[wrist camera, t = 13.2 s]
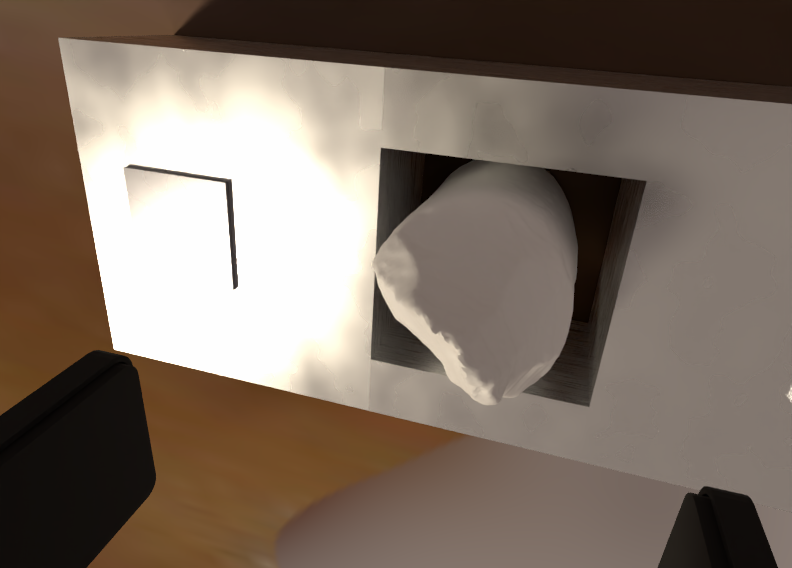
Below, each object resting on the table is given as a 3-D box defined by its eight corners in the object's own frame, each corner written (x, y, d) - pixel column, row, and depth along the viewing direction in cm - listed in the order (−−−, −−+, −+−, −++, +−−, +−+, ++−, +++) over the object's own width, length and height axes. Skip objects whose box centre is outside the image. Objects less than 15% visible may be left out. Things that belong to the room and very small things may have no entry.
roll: (273, 371, 14) (405, 199, 11) (408, 225, 24) (492, 118, 22) (465, 525, 14) (641, 392, 11) (516, 313, 24) (614, 218, 22)
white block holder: (173, 34, 24) (53, 38, 19) (1048, 108, 17) (1266, 148, 11) (198, 290, 29) (110, 351, 24) (877, 429, 22) (972, 560, 17)
